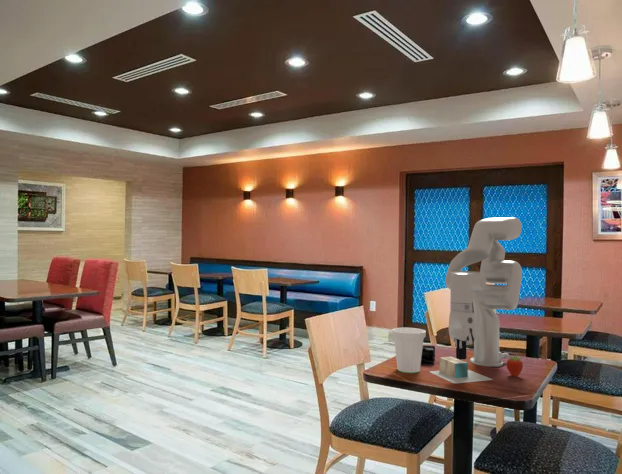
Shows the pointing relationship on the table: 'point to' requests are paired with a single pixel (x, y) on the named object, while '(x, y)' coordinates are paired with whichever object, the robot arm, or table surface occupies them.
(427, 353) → the black box
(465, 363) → the beech block
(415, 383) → the table surface
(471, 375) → the mat
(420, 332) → the cup
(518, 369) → the fruit
